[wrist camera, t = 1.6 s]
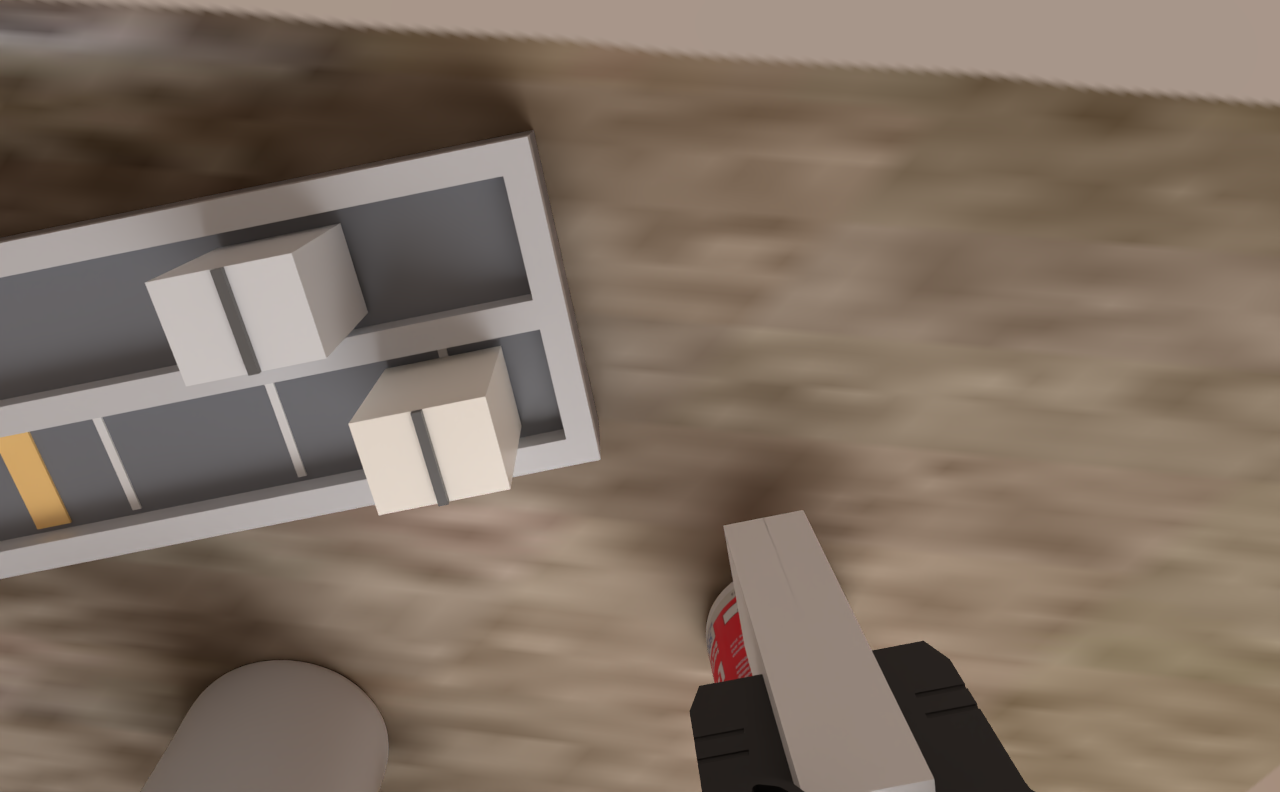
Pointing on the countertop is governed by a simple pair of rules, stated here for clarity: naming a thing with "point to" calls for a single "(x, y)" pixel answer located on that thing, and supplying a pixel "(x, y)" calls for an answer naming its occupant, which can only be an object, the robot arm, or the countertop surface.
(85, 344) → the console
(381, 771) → the mug
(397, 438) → the fader
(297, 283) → the fader
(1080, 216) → the countertop surface
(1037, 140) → the countertop surface
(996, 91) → the countertop surface
